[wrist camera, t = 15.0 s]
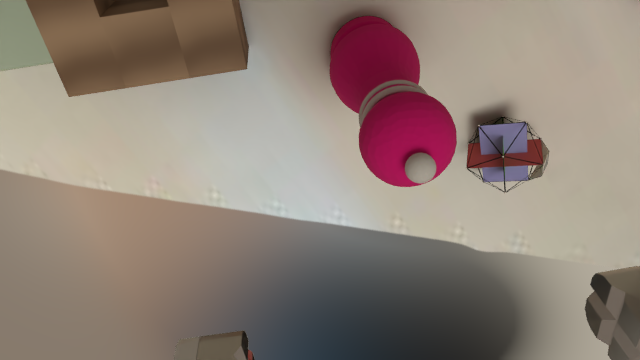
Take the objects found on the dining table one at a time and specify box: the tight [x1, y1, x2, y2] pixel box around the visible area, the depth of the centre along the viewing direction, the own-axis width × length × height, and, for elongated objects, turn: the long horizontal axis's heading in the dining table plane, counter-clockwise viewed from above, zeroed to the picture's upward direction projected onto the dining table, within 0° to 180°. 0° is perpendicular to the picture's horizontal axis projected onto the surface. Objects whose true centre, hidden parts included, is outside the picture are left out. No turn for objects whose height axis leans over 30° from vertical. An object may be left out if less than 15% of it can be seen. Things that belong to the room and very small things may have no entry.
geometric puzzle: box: [466, 116, 549, 193], centre depth 48 cm, size 7×7×8 cm
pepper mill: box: [330, 16, 457, 187], centre depth 37 cm, size 7×7×20 cm
